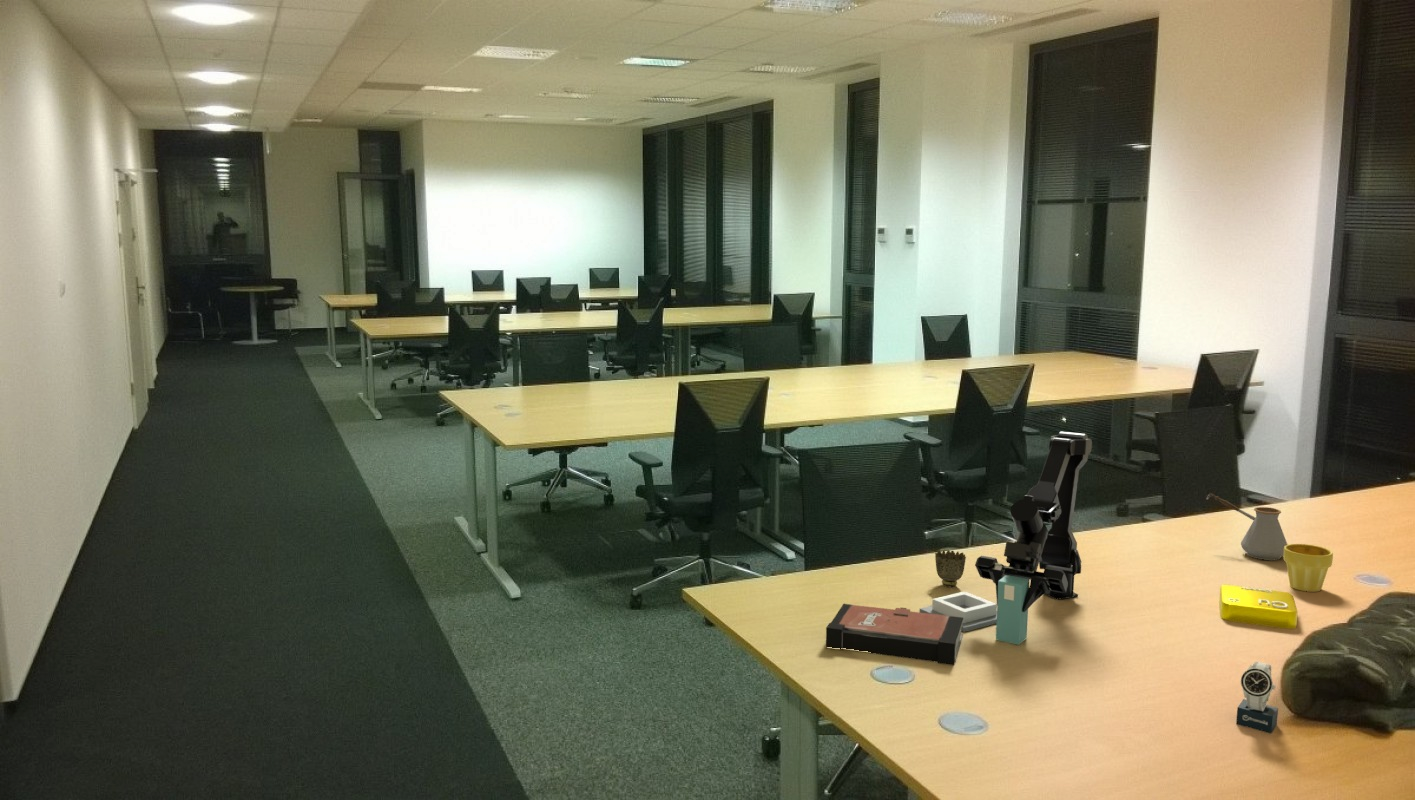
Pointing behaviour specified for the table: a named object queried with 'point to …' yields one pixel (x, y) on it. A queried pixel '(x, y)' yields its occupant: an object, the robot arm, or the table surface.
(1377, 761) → the table surface
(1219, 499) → the coffee pot
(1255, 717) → the watch
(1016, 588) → the teal rectangular block
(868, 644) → the book
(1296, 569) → the plant pot
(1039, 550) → the robot arm
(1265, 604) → the element tile
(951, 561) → the cup
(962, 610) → the square socket base
